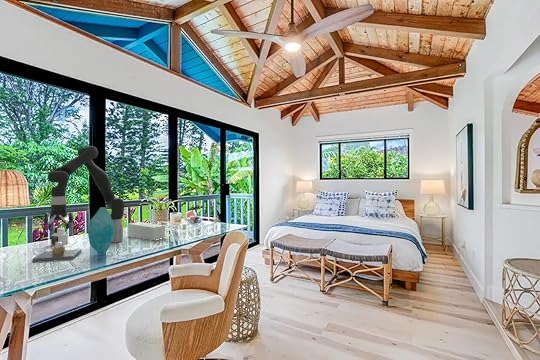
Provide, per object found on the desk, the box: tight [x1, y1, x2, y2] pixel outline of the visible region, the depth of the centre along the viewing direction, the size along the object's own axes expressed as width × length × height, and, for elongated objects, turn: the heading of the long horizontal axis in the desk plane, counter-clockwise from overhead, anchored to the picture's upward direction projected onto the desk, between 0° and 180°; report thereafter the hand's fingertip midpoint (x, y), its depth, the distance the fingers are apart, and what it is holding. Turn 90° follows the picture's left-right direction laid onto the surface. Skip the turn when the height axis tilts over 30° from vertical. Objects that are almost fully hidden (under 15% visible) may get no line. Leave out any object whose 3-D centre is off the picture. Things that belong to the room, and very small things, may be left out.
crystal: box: [87, 207, 114, 256], centre depth 179 cm, size 12×14×30 cm
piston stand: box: [31, 242, 82, 263], centre depth 172 cm, size 20×16×9 cm
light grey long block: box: [127, 221, 166, 241], centre depth 229 cm, size 32×11×11 cm, turn 62°
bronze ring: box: [51, 245, 66, 255], centre depth 172 cm, size 6×6×4 cm
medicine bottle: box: [50, 227, 69, 246], centre depth 203 cm, size 7×7×12 cm
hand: (58, 229), depth 172 cm, fingers open, 8 cm apart
